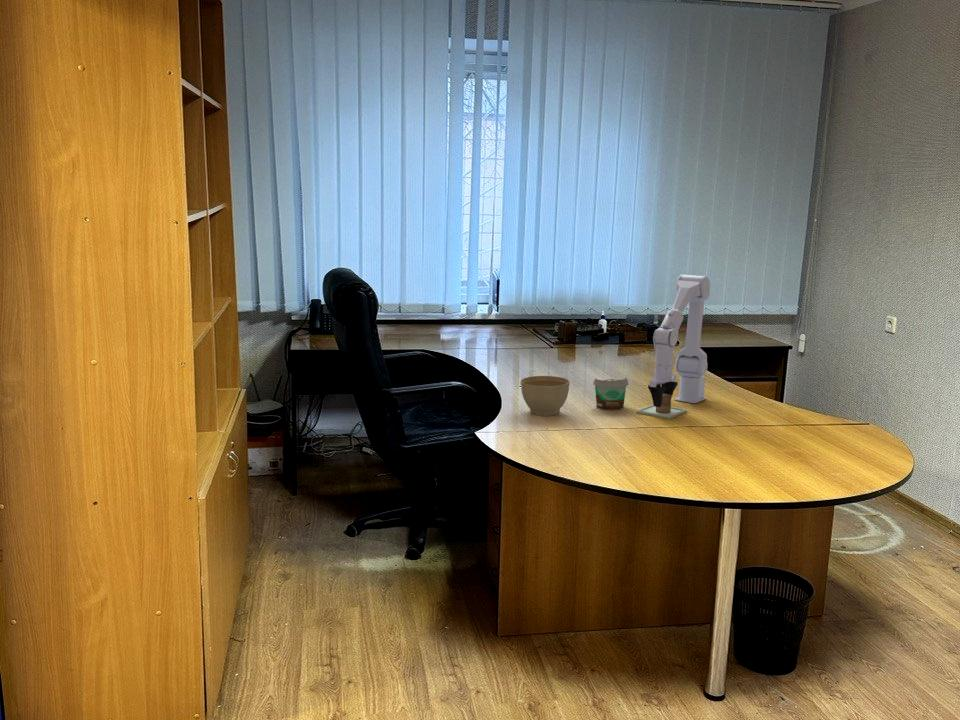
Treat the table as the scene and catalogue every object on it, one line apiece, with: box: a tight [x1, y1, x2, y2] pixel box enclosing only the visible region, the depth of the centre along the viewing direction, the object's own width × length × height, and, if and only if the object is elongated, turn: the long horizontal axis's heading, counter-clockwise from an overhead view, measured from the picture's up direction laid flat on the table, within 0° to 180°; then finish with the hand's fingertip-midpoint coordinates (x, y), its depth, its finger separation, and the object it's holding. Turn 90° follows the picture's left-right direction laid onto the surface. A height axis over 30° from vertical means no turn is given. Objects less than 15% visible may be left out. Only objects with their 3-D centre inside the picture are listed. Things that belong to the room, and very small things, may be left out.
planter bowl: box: [520, 375, 571, 417], centre depth 290 cm, size 16×16×11 cm
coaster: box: [636, 403, 688, 420], centre depth 293 cm, size 12×12×1 cm
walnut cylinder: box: [656, 394, 672, 413], centre depth 292 cm, size 5×5×6 cm
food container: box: [592, 376, 629, 411], centre depth 297 cm, size 12×6×10 cm, turn 105°
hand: (661, 404), depth 293 cm, fingers open, 6 cm apart
